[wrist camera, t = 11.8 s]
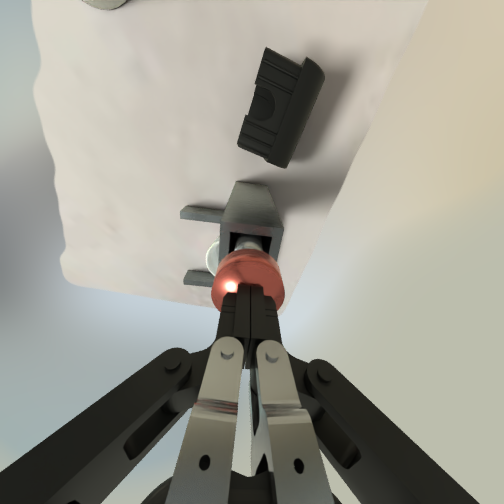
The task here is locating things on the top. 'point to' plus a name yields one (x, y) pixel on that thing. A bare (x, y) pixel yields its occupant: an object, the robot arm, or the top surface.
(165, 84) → the top surface
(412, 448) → the robot arm
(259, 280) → the ram plunger
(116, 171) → the top surface
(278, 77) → the end cap
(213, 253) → the ramekin
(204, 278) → the press
